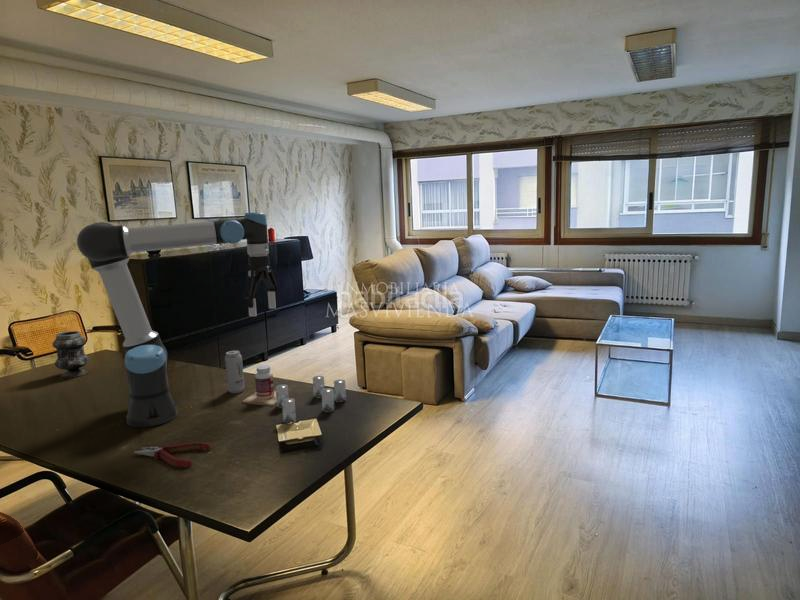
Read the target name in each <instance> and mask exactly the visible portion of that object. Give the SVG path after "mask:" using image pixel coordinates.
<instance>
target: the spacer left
mask: <svg viewBox="0 0 800 600" xmlns="http://www.w3.org/2000/svg"><path fill="white" fill-rule="evenodd" d="M275 391H276V398H277V403H276V408H277V409H282V400H284V399H287V398H289V394H288V392H289V388H288V385H287V384H278V385H276V386H275Z"/></svg>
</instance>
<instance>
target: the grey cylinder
mask: <svg viewBox="0 0 800 600" xmlns="http://www.w3.org/2000/svg"><path fill="white" fill-rule="evenodd" d="M346 388H347V386H346V380H345V379H335V380H334V381H333V390H334V402H335V401H344V400H346V401H347V391H346V390H347V389H346Z"/></svg>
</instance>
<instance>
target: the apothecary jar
mask: <svg viewBox="0 0 800 600" xmlns="http://www.w3.org/2000/svg"><path fill="white" fill-rule="evenodd" d="M55 336H56V337H55V339H54V340H53V341H52V344H51V345H52V347H53V348H54V349H56V354H57V359H56V360H55V361H54V366H55V367H56V368H57V369H59V370H63V371H64V370H65V371H64V372H63V373H61V374H60V376H59V378H61V379H74V378H77V376H78V377H81V375H82V376H84V375H86V374H87V373H88V370H87V369H83V368H82V367H84V366H86V365H87V364H88V363H89V360H90V359H89V356H87V354H85V348H84V345H85V343H87V340H86V338H85V337H84V336H83V335H82V334H81V332H80V331H79V330H71V331H70V330H69V331H62V332H58V333H56V335H55Z"/></svg>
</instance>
